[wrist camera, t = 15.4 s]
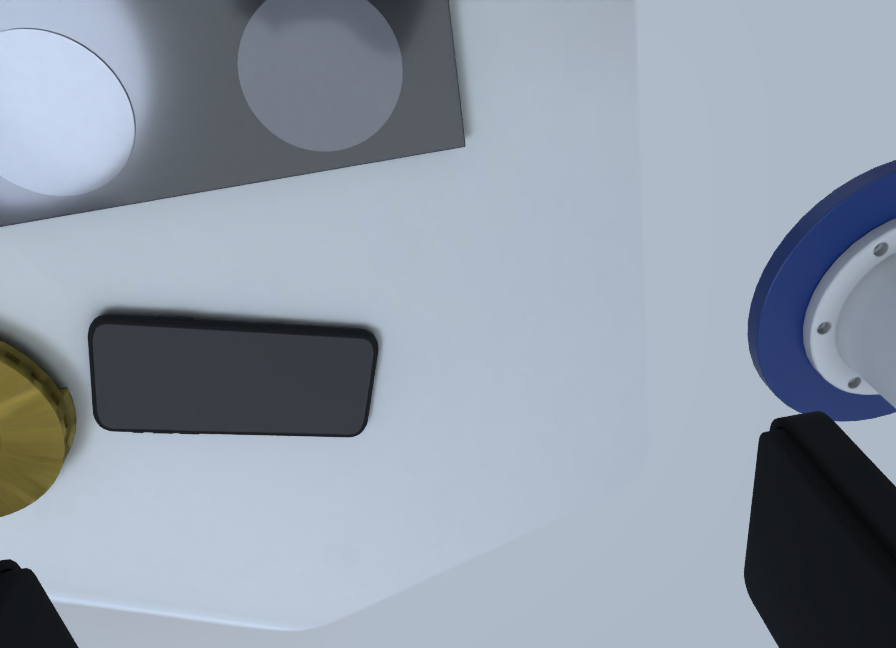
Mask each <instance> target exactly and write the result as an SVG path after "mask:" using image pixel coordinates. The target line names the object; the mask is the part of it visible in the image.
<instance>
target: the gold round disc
mask: <svg viewBox="0 0 896 648" xmlns="http://www.w3.org/2000/svg"><path fill="white" fill-rule="evenodd" d="M75 430H76V415H75V408H74V404H73V401H72V398H71V396H70V393H69V391H68V389H67V388H64V389H60V390H59V389H58V387H57V386H56V384H55V383H54V382H53V381H52V379H51V378H50V377H49V376H48V375H47V374H46V373H45V372H44V371H43V370H42V369H41V368H40V367H39V366H38V365H37V364H36V363H35V362H33V361H32V360H31V359H30V358H28V357H27V356H26V355H24V354H23V353H21V352H20V351H18V350H16V349H15V348H13V347H12V346H10V345H8V344H6V343H4V342H2V341H0V517H2V516H5V515H9V514H12V513H14V512H16V511H18V510H21V509H23V508H25V507H26V506H28V505H30V504H31V503H33V502H35V501H36V500H37V499H38V498H40V497H41V496H42V495H43V494H44V493H45V492H46V491H47V490H48V489H49V488H50V487H51V486H52V484H53V483H54V481H55V480H56V478H57V477H58V474H59V472H60V470H61V468H62V465H63V463H64V461H65V458H66V456H67V454H68V452H69V449H70V447H71V445H72V443H73V439H74V435H75Z"/></svg>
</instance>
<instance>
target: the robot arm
mask: <svg viewBox="0 0 896 648" xmlns="http://www.w3.org/2000/svg"><path fill="white" fill-rule="evenodd" d="M803 344H804V347H805V351H806V355H807V357H808V359H809V361H810V363H811V364H812V366H813V368H814V369H815V370H816V371H817V372H818V373H819V374H820V375H821V376H822V377H823V378H824V379H825V380H826V381H828V382H829V383H831V384H832V385H833V386H835V387H836V388H838V389H841V390H843V391H846V392H849V393H855V394H862V395H875V394H880V395H881V396H882V397H883V398H884V399H885V400H887V401H888V402H889V403H890V404H891V405H892V406H893V407H894V408H895V409H896V218H895V219H893V220H890V221H888V222H886V223H885V224H883V225H881V226H879V227H877V228H875V229H873V230H871V231H870V232H869V233H867V234H866V235H864V236H863V237H862V238H860V239H859V240H858V241H856V242H855V243H853V244H852V245H851V246H850V247H849V248H848V249H847V250H846V251H845V252H844V253H843V254H842V255H841V256H840V257H839V258H837V260H836V261H835V262H834V263H833V265H832V266H831V267H830V268H829V269H828V271H827V272H826V273H825V274H824V276H823V277H822V279H821V281H820V282H819V284H818V286H817V287H816V289H815V291H814V293H813V295H812V297H811V300H810V302H809V305H808V307H807V310H806V314H805V319H804V324H803ZM744 579H745V584H746V588H747V591H748V594H749V596H750V598H751V600H752V602H753V604H754V606H755V607H756V609H757V611H758V612H759V614H760V616H761V618H762V619H763V621H764V623H765V624H766V626H767V628H768V630H769V631H770V633H771V635H772V636H773V638H774V640H775V642H776V643H777V645H778V646H779V648H896V487H895V486H894V484H893V483H892V482H891V481H890V480H889V479H888V478H887V477H886V476H885V475H884V474H883V473H882V472H881V471H880V470H879V469H878V468H877V466H876V465H875V464H874V463H873V462H872V461H871V460H870V459H869V458H868V457H867V456H866V455H865V454H864V453H863V452H862V451H861V450H860V449H859V447H858V446H857V445H856V444H855V443H854V442H853V441H852V440H851V439H850V438H849V437H848V436H847V435H846V434H845V432H844V431H843V430H842V429H841V428H840V427H839V426H838V425H837V424H836V423H835V422H834V421H833V420H832V419H831V418H830V417H829V416H828V415H827V414H825V413H824V412H821V411H814V412H809V413H803V414H798V415H792V416H788V417H782V418H777V419H774V421H773V422H772V423H771V427H770V431H768V432H764V433H762V434H761V435H760V438H759V444H758V453H757V462H756V470H755V479H754V488H753V497H752V505H751V514H750V523H749V533H748V541H747V550H746V558H745V568H744ZM0 648H78V646H77V644H76V643H75V641H74V639H73V638H72V636H71V634H70V633H69V631H68V629H67V628H66V626H65V624H64V622H63V621H62V619H61V617H60V616H59V614H58V612H57V611H56V609H55V607H54V606H53V604H52V602H51V601H50V599H49V597H48V596H47V594H46V592H45V591H44V589H43V587H42V586H41V584H40V582H39V581H38V579H37V577H36V575H35V574H34V573H33V572H32V570H30V569H28V568H24V569H21V568H20V566H19V565H18V564H17V563H16V562H15V561H12V560H10V559H9V560H1V561H0Z"/></svg>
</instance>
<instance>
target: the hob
mask: <svg viewBox="0 0 896 648" xmlns="http://www.w3.org/2000/svg"><path fill="white" fill-rule="evenodd" d="M460 147H465V137H464V128H463V120H462V111H461V103H460V94H459V85H458V77H457V68H456V59H455V51H454V42H453V34H452V25H451V16H450V8H449V0H0V227H2V226H8V225H14V224H20V223H26V222H31V221H37V220H43V219H49V218H55V217H60V216H66V215H72V214H78V213H84V212H89V211H95V210H101V209H107V208H113V207H118V206H124V205H130V204H136V203H142V202H147V201H153V200H159V199H165V198H171V197H176V196H182V195H188V194H194V193H200V192H205V191H211V190H217V189H223V188H229V187H234V186H240V185H246V184H252V183H258V182H263V181H269V180H275V179H281V178H287V177H292V176H298V175H304V174H310V173H316V172H321V171H327V170H333V169H339V168H345V167H350V166H356V165H362V164H368V163H373V162H379V161H385V160H391V159H397V158H402V157H408V156H414V155H420V154H426V153H431V152H437V151H443V150H449V149H455V148H460Z"/></svg>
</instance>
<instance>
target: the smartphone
mask: <svg viewBox="0 0 896 648" xmlns="http://www.w3.org/2000/svg"><path fill="white" fill-rule="evenodd" d="M88 346H89V361H90V375H91V389H92V404H93V415H94V418H95V420H96V422H97V423H98V424H99V426H100V427H102V428H103V429H105V430H108V431H118V432H133V433H143V432H153V433H167V434H173V433H179V434H235V435H276V436H317V437H354V436H357V435H359V434H360V433H361V432H362V431H363V430H364V429H365V427H366V425H367V422H368V416H369V409H370V403H371V396H372V389H373V383H374V376H375V369H376V363H377V356H378V343H377V340H376V338H375V336H374V335H373V334H372V333H371V332H369V331H366V330H362V329H345V328H329V327H312V326H296V325H279V324H262V323H246V322H229V321H213V320H196V319H193V318H182V317H165V316H159V317H145V316H128V315H111V314H108V315H102V316H98V317H97V318H96V319H94V321H93V322H92V323H91V325H90V327H89V332H88Z"/></svg>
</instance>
